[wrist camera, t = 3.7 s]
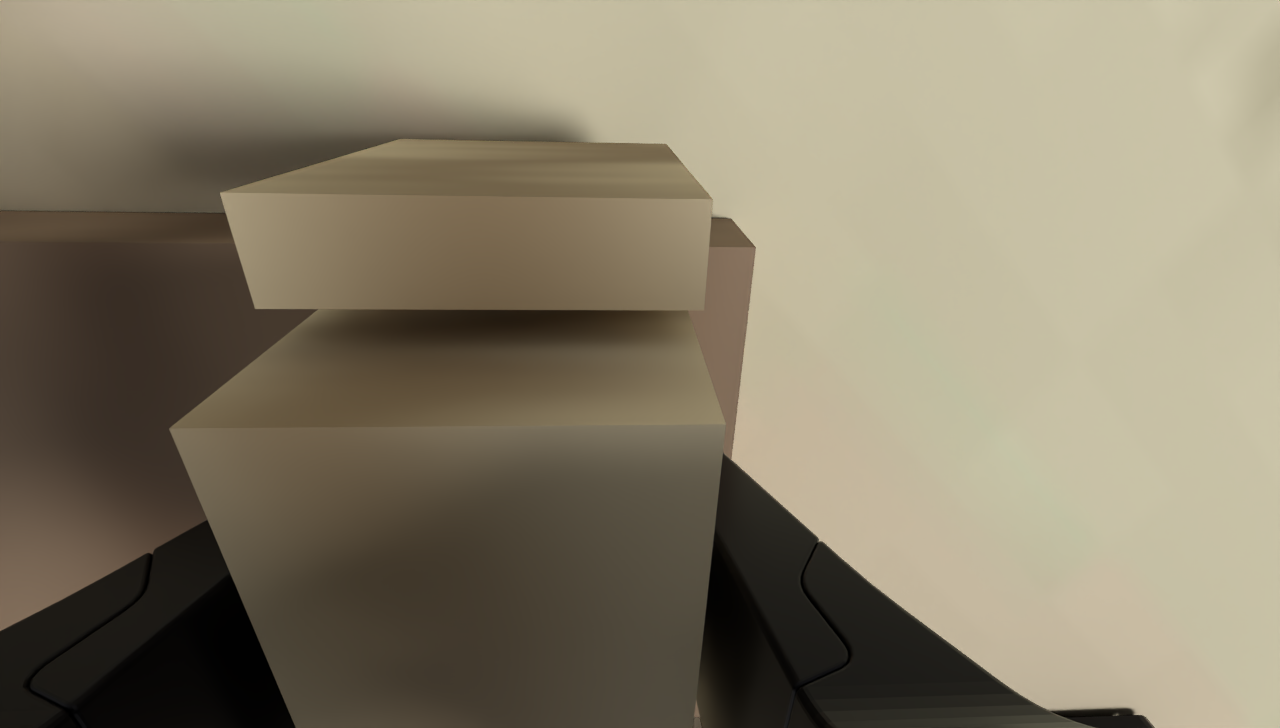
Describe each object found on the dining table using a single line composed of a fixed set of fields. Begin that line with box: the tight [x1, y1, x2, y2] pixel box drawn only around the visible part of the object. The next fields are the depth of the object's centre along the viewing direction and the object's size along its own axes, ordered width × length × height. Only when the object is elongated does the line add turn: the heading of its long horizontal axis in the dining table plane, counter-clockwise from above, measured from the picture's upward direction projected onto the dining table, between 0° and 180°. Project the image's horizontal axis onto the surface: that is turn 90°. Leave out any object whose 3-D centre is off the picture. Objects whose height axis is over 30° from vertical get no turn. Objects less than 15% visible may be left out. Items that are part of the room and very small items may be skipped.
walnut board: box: [0, 211, 756, 717], centre depth 12 cm, size 20×12×2 cm, turn 89°
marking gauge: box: [169, 139, 726, 728], centre depth 9 cm, size 4×12×6 cm, turn 179°
